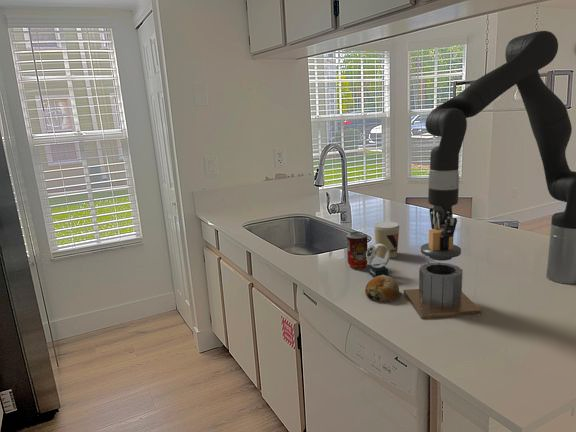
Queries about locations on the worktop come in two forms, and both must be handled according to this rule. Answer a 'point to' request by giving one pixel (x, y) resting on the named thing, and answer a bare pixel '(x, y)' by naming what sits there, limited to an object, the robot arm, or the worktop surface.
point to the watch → (377, 268)
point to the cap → (434, 247)
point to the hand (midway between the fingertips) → (441, 247)
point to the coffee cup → (386, 238)
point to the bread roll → (382, 289)
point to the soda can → (357, 250)
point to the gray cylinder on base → (440, 292)
